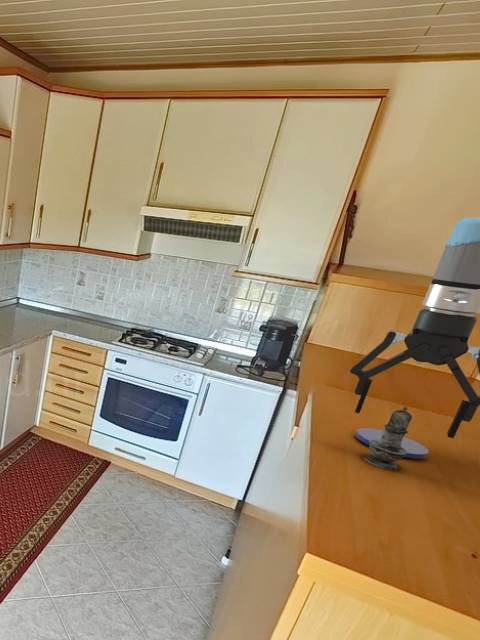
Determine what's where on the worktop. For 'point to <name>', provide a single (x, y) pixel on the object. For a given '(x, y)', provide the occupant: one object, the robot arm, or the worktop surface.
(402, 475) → the worktop surface
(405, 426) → the grey tall tiered piece
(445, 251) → the robot arm
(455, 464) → the worktop surface
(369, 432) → the plate
